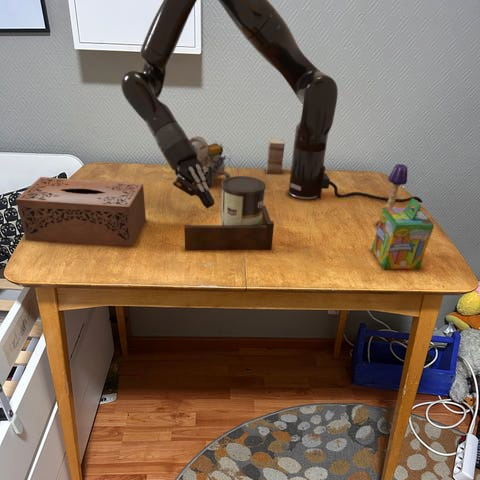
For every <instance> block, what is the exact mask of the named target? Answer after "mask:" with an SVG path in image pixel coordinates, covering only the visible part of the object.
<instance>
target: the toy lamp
mask: <svg viewBox="0 0 480 480" xmlns="http://www.w3.org/2000/svg"><path fill="white" fill-rule="evenodd" d="M387 180H388V182H389V183H391V184H392V187H391V189H390V193H389V197H388V198H389V200H388V201H387V204H386V206H385V208H394V205H395V203H396V202H395V199H397V196H398V195H397V194H398V192H399V188H400V186H404V185H406V184H407V183H408V166H407V165H405V164H402V163H398V164H395V165H394V167H393V169H392V171H391V172H390V173H389V176H388V178H387ZM379 221H380V219H379V220H377V222H376V227H377V228H378V225H379Z"/></svg>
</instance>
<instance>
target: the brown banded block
mask: <svg viewBox="0 0 480 480" xmlns="http://www.w3.org/2000/svg"><path fill="white" fill-rule="evenodd" d="M285 143H286V142H285V140H284V139H279V138H269V139H268V145H267V154H266V156H267V158H266V163H265V164H266V166H265V172H266V174H276V175H281V174H282V170H283V169H282V168H283V162H284V161H283V159H284V155H285V154H284V153H285V145H286V144H285Z"/></svg>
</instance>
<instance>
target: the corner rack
mask: <svg viewBox="0 0 480 480" xmlns="http://www.w3.org/2000/svg"><path fill="white" fill-rule="evenodd" d="M183 228H184V229H183V230H184V251H186V252H187V251H188V252H189V251H192V252H193V251H195V252H196V251H272V248H273V241H274V240H273V239H274V228H275V223H274V220H271V218H270V215H269V211H268V208H267V205H263V216H262V225H221V224H207V225H206V224H204V225H203V224H194V225H193V224H190V225H188V224H185V225H184V227H183Z"/></svg>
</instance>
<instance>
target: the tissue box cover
mask: <svg viewBox="0 0 480 480" xmlns="http://www.w3.org/2000/svg"><path fill="white" fill-rule="evenodd" d="M144 191H145V190H144V183H141V182H140V183H139V182H138V183H137V182H122V181H109V180H107V181H105V180H93V179H91V180H90V179H79V178H78V179H77V178H76V179H75V178H60V177H46V176H40V177H39V178H37V180H35V182H33V183H32V184H31V185H29V187H28V188H27V189H26V190H24V191H23V192H22V193H21V194H20V195H19V196H18V197H17V198H15V202H16V207H17V210H18V214H19V218H20V222H21V226H22V230H23V233H24V238H25V240H27V241H39V242H40V241H41V242H42V241H43V242H55V243H58V242H59V243H69V244H70V243H71V244H72V243H73V244H87V245H88V244H89V245H102V246H117V247H130V248H131V247H133V248H134V246H135V244H136V242H137V240H138V239H139V236H140V234H141V232H142V230H143V228H144V226H145V224H146V222H147V217H146V215H147V214H146V204H145V203H146V202H145V193H144Z"/></svg>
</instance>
